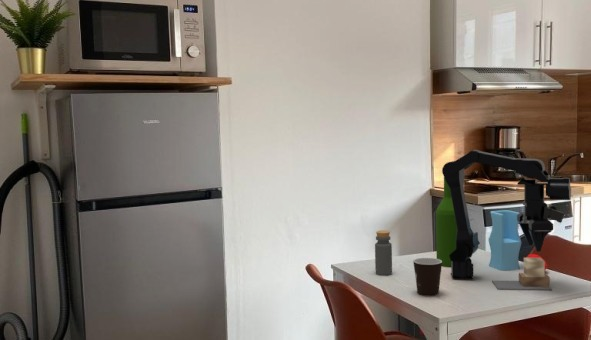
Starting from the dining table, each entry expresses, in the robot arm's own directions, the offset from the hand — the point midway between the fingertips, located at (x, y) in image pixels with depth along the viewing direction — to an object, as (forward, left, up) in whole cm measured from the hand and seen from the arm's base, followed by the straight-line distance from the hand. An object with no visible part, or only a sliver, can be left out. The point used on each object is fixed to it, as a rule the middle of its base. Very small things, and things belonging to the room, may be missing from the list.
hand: (534, 248), depth 174 cm
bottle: (-47, +13, -12) cm, 50 cm away
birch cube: (0, 0, -9) cm, 9 cm away
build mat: (-4, 0, -12) cm, 13 cm away
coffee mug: (-33, -8, -12) cm, 36 cm away
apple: (+5, +17, -12) cm, 22 cm away
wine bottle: (-23, +27, -12) cm, 38 cm away
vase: (-4, +23, -12) cm, 26 cm away
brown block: (0, 0, -12) cm, 12 cm away
